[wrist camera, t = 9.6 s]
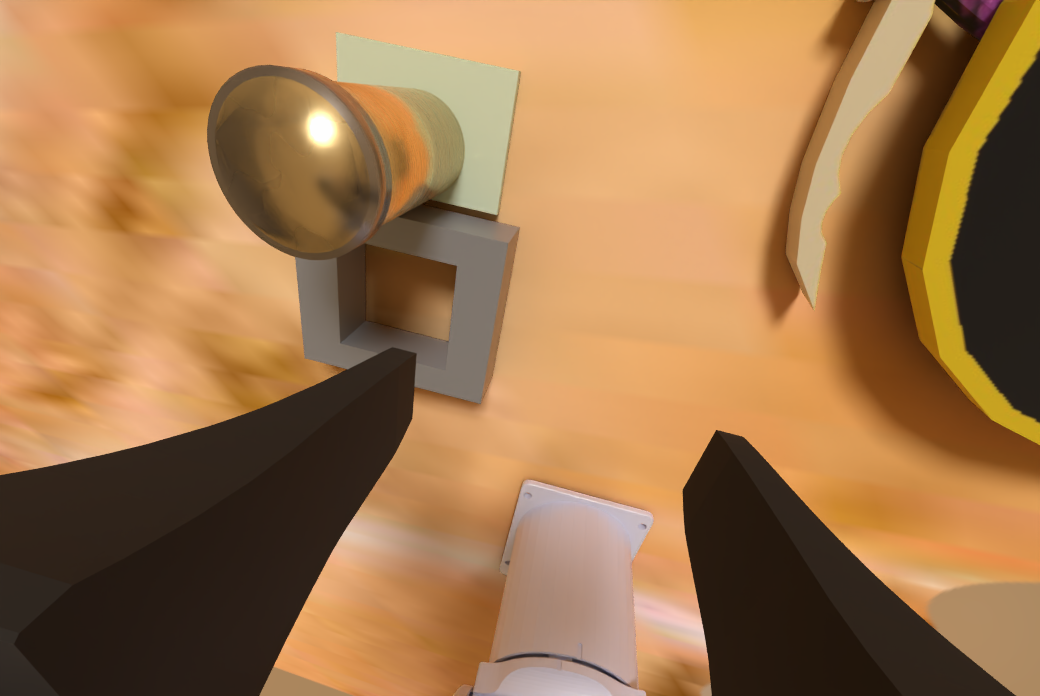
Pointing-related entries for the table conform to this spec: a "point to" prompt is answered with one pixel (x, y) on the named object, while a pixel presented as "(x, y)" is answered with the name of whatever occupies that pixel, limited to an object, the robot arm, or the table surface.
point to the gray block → (439, 364)
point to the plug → (327, 156)
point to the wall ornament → (952, 197)
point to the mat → (464, 89)
